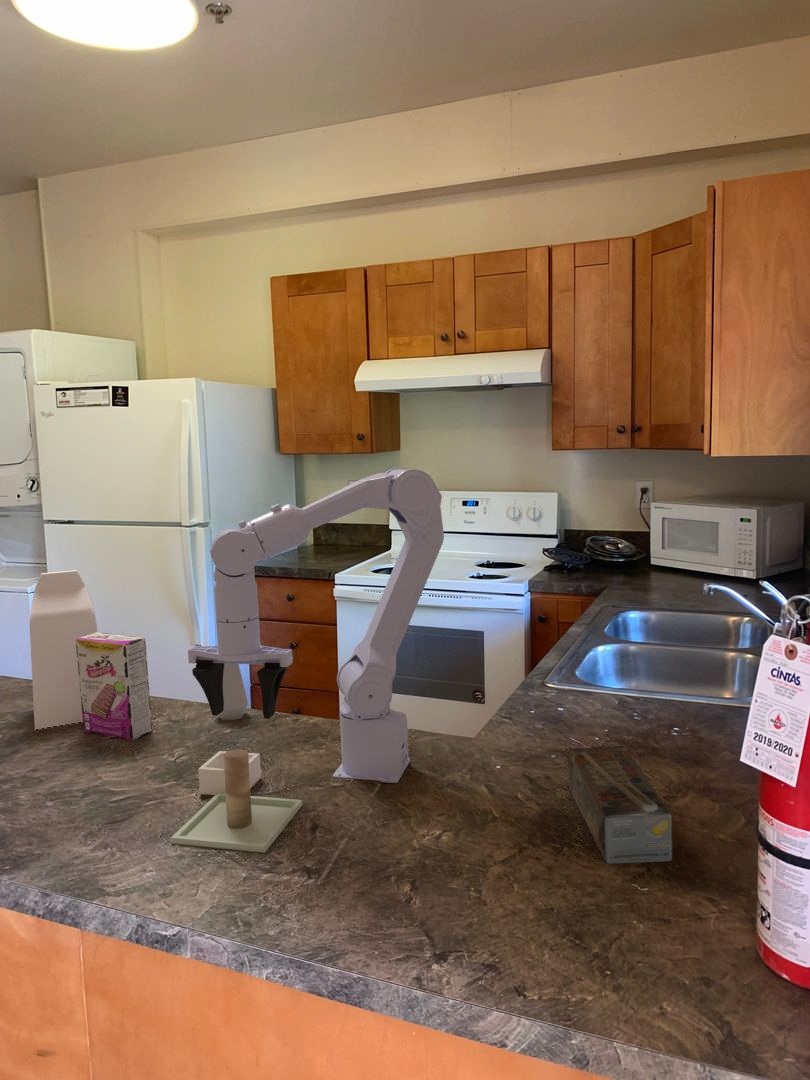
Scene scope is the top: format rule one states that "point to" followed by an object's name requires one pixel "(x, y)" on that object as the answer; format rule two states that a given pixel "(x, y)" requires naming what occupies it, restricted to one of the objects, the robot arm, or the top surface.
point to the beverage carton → (620, 806)
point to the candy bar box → (114, 685)
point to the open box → (214, 773)
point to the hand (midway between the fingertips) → (243, 714)
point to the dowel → (237, 788)
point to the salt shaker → (233, 693)
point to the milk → (58, 646)
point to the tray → (257, 837)
